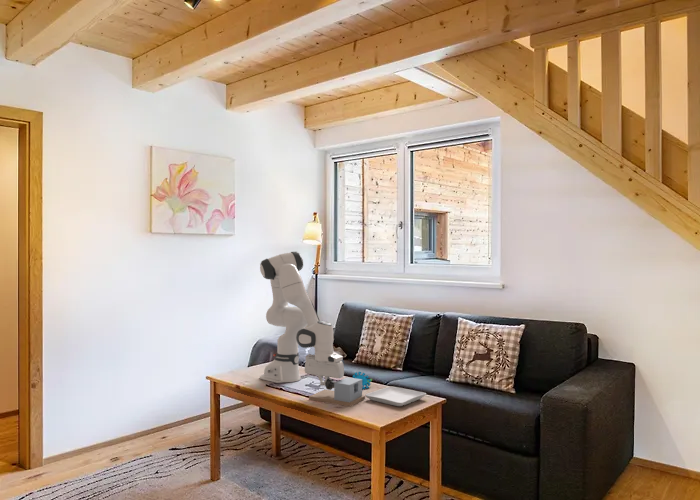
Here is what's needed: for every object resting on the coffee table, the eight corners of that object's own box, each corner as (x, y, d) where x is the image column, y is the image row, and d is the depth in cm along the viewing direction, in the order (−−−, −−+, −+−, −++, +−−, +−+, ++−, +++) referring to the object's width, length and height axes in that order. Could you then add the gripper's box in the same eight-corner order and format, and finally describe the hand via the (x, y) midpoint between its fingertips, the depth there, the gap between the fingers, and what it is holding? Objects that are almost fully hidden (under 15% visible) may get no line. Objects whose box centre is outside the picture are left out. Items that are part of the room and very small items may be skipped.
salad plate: (363, 401, 245) (363, 393, 245) (390, 392, 261) (390, 385, 261) (401, 410, 231) (401, 402, 231) (427, 400, 247) (427, 392, 247)
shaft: (325, 390, 246) (325, 379, 246) (331, 388, 251) (331, 377, 251) (350, 394, 240) (350, 383, 240) (356, 391, 244) (356, 381, 244)
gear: (355, 387, 261) (351, 370, 268) (350, 394, 265) (346, 376, 271) (375, 388, 266) (370, 371, 272) (370, 394, 269) (366, 377, 276)
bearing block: (309, 399, 245) (309, 379, 245) (324, 392, 258) (325, 373, 258) (350, 406, 235) (350, 385, 235) (364, 398, 247) (365, 379, 247)
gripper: (302, 354, 252) (301, 383, 252) (338, 359, 242) (338, 389, 242) (309, 352, 257) (309, 380, 257) (345, 357, 247) (345, 386, 247)
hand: (323, 385), depth 249 cm, fingers closed
